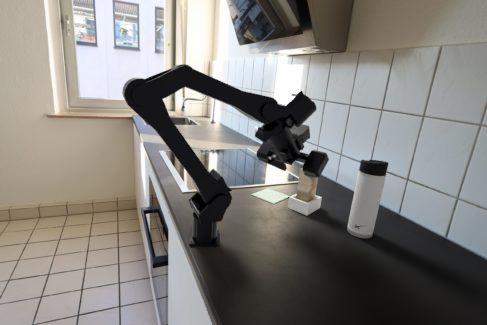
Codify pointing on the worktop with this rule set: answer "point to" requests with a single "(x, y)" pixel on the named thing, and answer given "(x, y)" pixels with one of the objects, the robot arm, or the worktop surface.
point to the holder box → (304, 205)
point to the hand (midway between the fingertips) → (299, 173)
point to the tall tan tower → (306, 187)
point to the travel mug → (367, 198)
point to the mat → (270, 196)
